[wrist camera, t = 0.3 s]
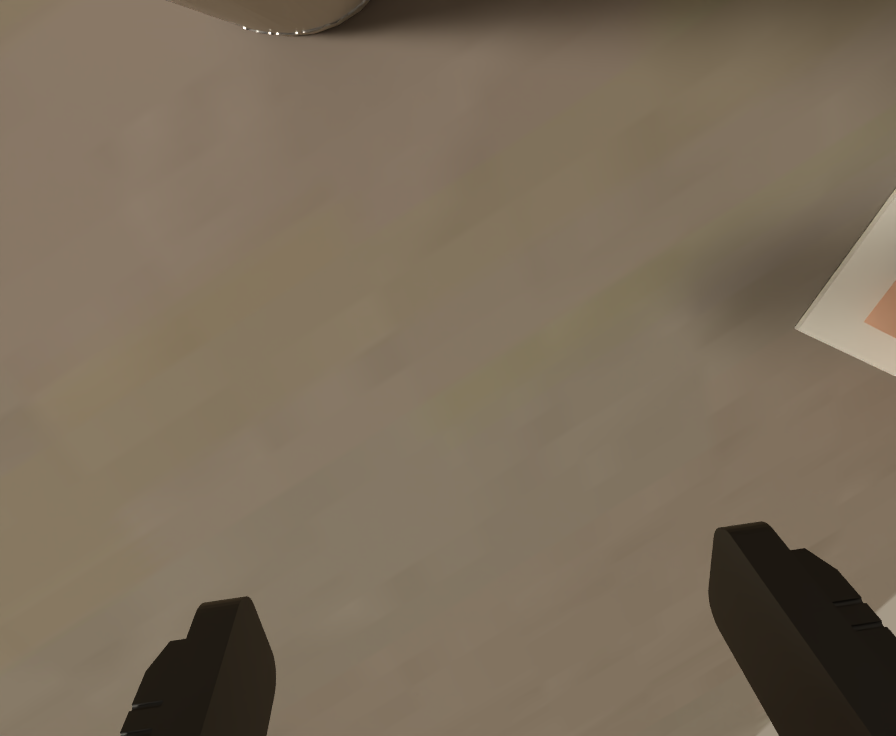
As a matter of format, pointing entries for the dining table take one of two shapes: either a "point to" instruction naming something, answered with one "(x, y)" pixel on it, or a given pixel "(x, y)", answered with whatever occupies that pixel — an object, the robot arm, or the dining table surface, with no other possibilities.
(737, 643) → the robot arm
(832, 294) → the mat
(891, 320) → the tile
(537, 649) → the dining table surface
